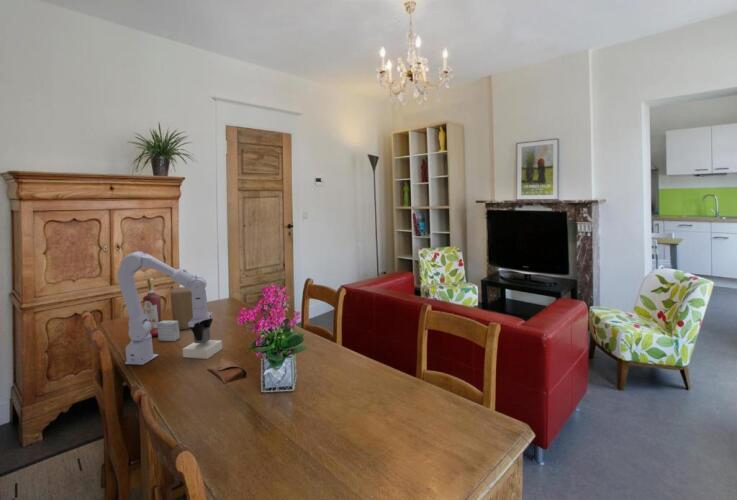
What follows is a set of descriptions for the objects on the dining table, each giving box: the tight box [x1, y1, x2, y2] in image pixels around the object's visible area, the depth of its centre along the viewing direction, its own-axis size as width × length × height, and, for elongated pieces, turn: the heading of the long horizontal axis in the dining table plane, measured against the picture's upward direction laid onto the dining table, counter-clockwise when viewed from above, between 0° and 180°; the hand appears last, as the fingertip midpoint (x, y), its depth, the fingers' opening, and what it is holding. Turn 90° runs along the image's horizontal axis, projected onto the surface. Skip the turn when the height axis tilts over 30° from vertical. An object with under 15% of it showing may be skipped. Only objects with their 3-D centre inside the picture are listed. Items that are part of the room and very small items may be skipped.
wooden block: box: [170, 286, 193, 331], centre depth 198 cm, size 10×10×20 cm
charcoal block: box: [193, 327, 211, 344], centre depth 164 cm, size 4×4×6 cm
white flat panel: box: [182, 339, 223, 360], centre depth 164 cm, size 11×11×4 cm
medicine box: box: [157, 320, 181, 342], centre depth 180 cm, size 8×4×9 cm, turn 84°
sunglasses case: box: [206, 355, 248, 384], centre depth 145 cm, size 18×7×7 cm, turn 45°
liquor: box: [142, 277, 162, 338], centre depth 186 cm, size 7×7×28 cm
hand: (202, 338), depth 164 cm, fingers closed on charcoal block, 4 cm apart
